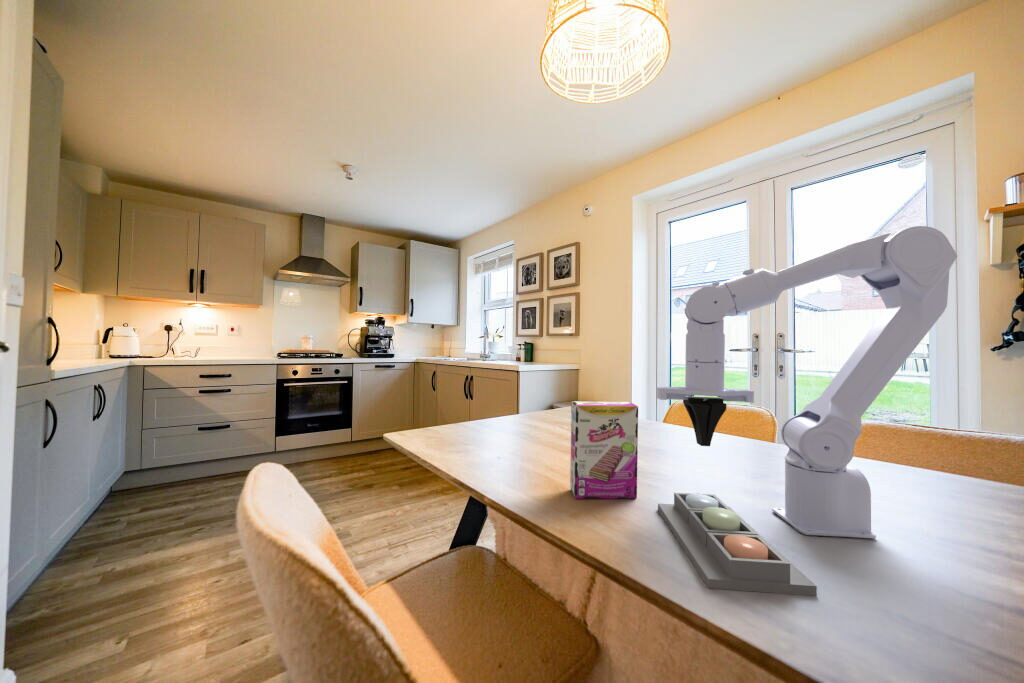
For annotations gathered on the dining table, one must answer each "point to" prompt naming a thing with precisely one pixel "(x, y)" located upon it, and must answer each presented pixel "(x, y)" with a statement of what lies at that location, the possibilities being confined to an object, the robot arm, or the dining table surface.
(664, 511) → the button panel
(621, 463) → the candy bar box
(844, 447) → the robot arm
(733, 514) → the sage button
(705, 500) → the pale blue button
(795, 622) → the dining table surface
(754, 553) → the terracotta button
